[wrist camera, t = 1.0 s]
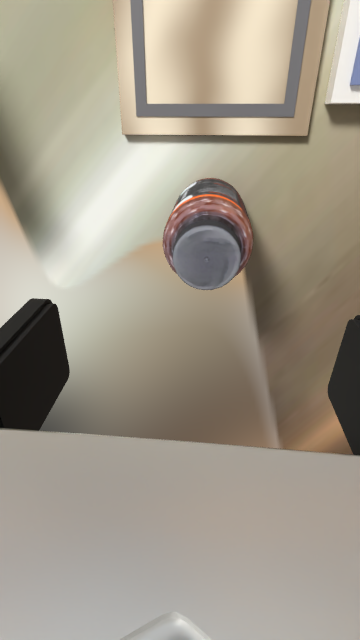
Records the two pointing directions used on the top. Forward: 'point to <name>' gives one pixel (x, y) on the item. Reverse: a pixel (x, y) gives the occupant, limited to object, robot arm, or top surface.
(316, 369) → the top surface
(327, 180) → the top surface
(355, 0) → the ink pad
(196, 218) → the supplement bottle
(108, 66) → the top surface
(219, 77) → the marked board
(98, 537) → the robot arm
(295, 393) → the top surface
